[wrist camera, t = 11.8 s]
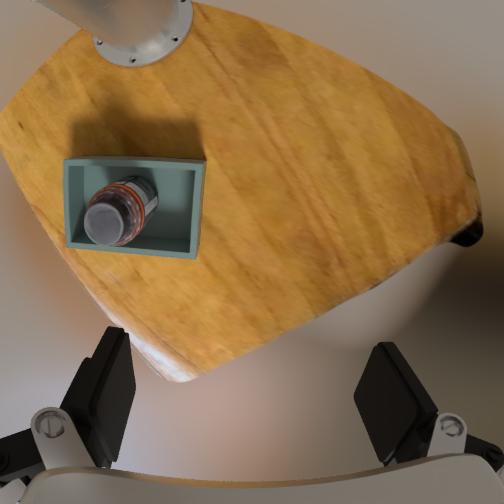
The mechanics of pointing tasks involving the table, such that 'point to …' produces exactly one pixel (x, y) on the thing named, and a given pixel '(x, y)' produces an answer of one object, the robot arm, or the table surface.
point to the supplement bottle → (120, 210)
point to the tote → (166, 216)
